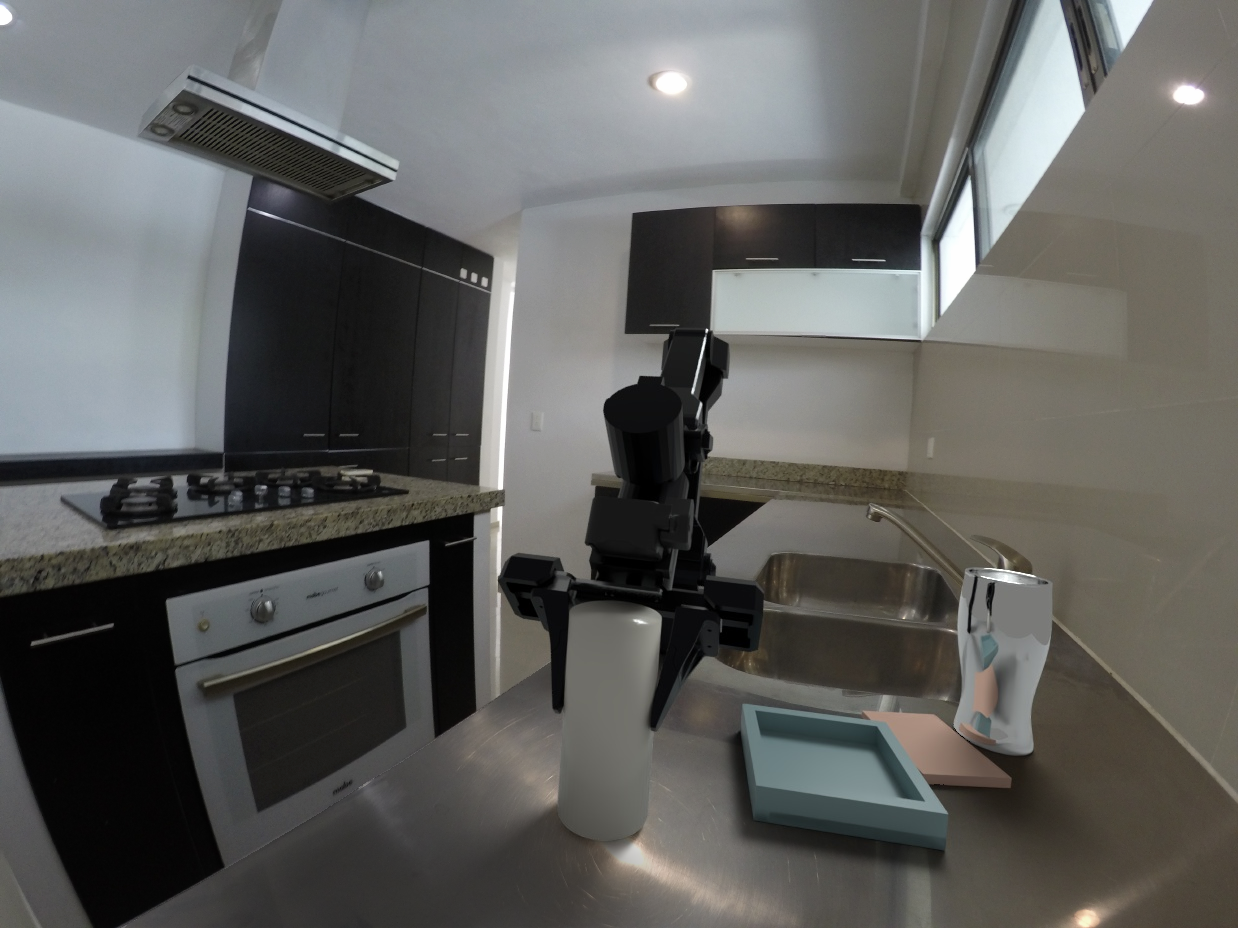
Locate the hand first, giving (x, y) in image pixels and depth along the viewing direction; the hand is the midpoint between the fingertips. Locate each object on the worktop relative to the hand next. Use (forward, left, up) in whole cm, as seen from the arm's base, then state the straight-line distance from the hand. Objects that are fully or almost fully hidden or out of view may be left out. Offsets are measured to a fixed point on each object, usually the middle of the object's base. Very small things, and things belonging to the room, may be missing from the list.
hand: (603, 720), depth 35 cm
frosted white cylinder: (-1, 0, -7) cm, 7 cm away
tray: (-9, +16, -7) cm, 20 cm away
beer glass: (-20, +33, -7) cm, 40 cm away
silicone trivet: (-16, +26, -7) cm, 32 cm away
